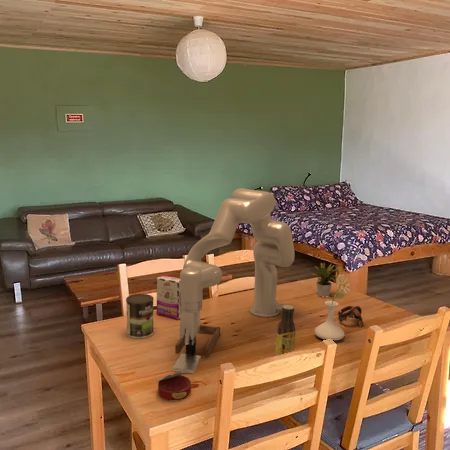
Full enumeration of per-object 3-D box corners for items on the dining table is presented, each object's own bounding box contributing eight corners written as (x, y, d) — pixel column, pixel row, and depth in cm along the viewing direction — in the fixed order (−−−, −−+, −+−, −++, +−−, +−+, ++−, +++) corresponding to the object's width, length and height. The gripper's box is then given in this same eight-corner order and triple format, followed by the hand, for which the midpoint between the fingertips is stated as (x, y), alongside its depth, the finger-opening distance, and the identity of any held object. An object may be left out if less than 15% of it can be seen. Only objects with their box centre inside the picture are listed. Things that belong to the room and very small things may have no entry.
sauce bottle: (281, 367, 161) (284, 311, 157) (271, 359, 166) (273, 305, 162) (297, 363, 164) (300, 308, 160) (286, 355, 169) (289, 302, 165)
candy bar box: (185, 316, 201) (185, 278, 198) (178, 320, 197) (178, 282, 193) (163, 310, 206) (162, 274, 203) (156, 314, 202) (155, 277, 198)
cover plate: (200, 361, 165) (201, 355, 165) (193, 375, 156) (193, 370, 155) (181, 358, 166) (181, 353, 166) (172, 373, 157) (172, 367, 156)
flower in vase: (325, 345, 177) (330, 281, 172) (308, 333, 188) (312, 272, 182) (354, 340, 183) (359, 277, 177) (335, 328, 193) (340, 268, 187)
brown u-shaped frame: (220, 334, 185) (220, 326, 184) (208, 357, 167) (208, 349, 166) (190, 330, 187) (190, 323, 187) (175, 353, 169) (175, 345, 168)
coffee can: (159, 332, 185) (159, 298, 182) (137, 341, 177) (137, 305, 174) (142, 325, 192) (142, 291, 189) (121, 332, 184) (120, 298, 181)
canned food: (161, 412, 143) (144, 385, 141) (171, 391, 152) (156, 365, 150) (193, 402, 139) (176, 374, 137) (201, 381, 148) (186, 354, 146)
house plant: (331, 304, 218) (334, 269, 215) (303, 297, 226) (305, 264, 222) (342, 295, 230) (345, 262, 227) (315, 289, 237) (317, 257, 234)
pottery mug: (359, 331, 191) (349, 313, 191) (340, 334, 198) (331, 317, 198) (371, 315, 200) (362, 298, 199) (353, 319, 206) (344, 302, 206)
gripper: (186, 295, 170) (186, 343, 174) (173, 311, 156) (173, 362, 160) (207, 297, 169) (206, 345, 173) (196, 313, 155) (195, 365, 159)
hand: (190, 353), depth 166 cm, fingers closed
